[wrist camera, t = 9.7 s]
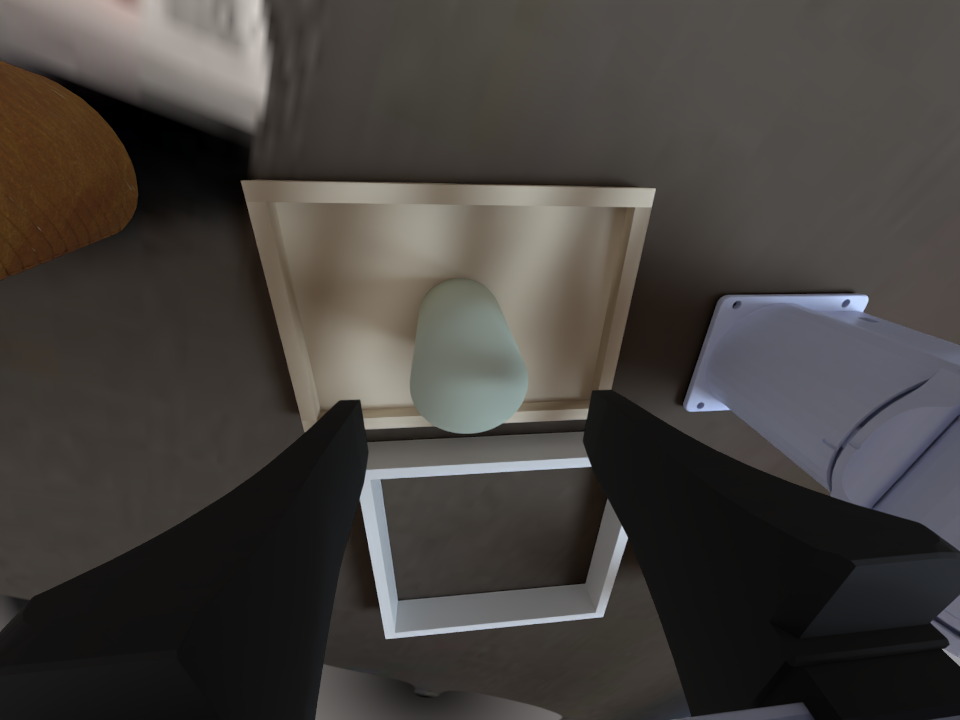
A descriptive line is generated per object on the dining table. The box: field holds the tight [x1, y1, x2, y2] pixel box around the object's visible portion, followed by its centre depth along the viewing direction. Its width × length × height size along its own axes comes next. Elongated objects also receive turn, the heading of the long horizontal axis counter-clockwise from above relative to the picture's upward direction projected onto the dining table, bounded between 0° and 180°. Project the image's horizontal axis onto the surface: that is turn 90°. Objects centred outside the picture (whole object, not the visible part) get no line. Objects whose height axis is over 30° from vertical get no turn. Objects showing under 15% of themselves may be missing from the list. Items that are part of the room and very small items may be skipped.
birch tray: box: [241, 180, 656, 432], centre depth 20 cm, size 18×13×2 cm
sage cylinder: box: [410, 278, 528, 434], centre depth 17 cm, size 4×4×7 cm
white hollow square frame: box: [360, 432, 628, 639], centre depth 28 cm, size 19×19×2 cm
